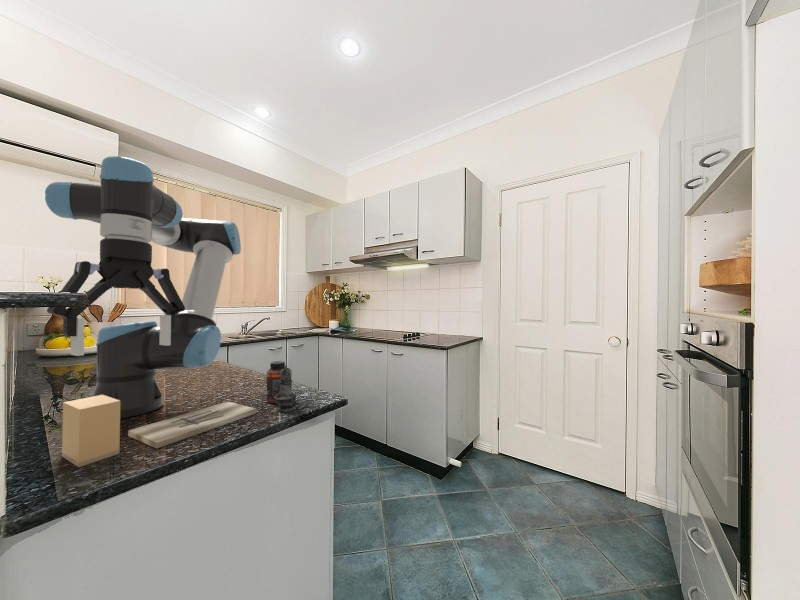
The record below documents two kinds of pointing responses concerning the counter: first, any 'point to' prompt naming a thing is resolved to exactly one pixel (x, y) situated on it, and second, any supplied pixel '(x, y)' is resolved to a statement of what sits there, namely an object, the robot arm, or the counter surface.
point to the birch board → (189, 424)
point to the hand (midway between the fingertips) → (125, 349)
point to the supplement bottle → (274, 380)
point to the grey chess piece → (285, 392)
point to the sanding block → (90, 429)
